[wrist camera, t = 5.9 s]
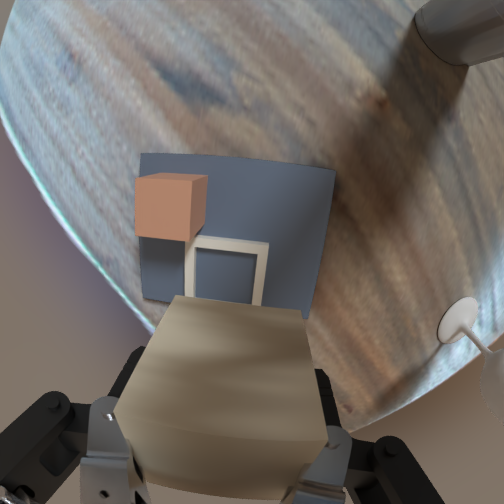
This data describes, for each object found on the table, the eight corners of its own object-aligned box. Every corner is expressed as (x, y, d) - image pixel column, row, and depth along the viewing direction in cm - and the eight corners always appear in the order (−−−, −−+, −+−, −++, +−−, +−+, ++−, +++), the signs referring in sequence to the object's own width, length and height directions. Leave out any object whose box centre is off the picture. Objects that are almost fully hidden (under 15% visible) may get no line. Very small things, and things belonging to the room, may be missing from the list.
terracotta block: (208, 175, 26) (192, 180, 20) (204, 223, 28) (189, 241, 22) (161, 172, 26) (135, 178, 21) (159, 219, 28) (135, 235, 22)
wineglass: (437, 351, 34) (494, 445, 15) (436, 311, 32) (514, 413, 12) (475, 328, 33) (539, 407, 13) (478, 287, 30) (560, 367, 11)
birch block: (300, 310, 11) (328, 439, 5) (279, 392, 12) (284, 499, 7) (175, 294, 11) (113, 411, 5) (179, 380, 12) (147, 482, 7)
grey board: (332, 170, 27) (338, 171, 24) (306, 312, 33) (308, 323, 30) (146, 153, 27) (136, 153, 25) (147, 292, 33) (139, 301, 30)
